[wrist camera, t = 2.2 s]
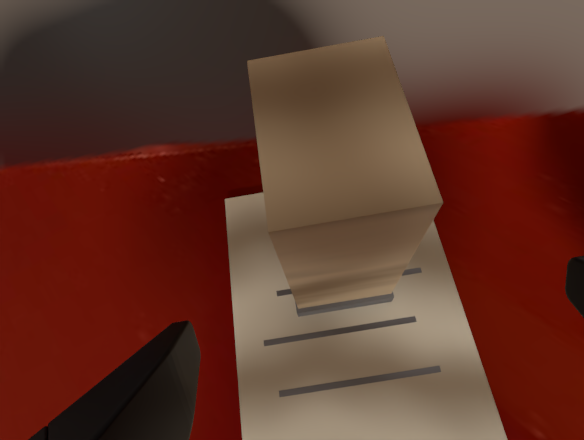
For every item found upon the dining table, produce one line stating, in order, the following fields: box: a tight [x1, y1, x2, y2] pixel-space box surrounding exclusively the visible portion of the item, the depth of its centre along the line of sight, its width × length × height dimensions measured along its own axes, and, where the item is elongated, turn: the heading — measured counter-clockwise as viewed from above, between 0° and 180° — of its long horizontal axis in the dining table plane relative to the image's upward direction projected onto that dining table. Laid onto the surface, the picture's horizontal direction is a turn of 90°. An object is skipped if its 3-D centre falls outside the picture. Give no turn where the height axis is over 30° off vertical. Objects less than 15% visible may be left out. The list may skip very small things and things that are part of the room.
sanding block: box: [247, 36, 443, 317], centre depth 17 cm, size 7×5×11 cm
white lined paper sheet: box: [225, 193, 507, 440], centre depth 19 cm, size 23×12×1 cm, turn 8°
